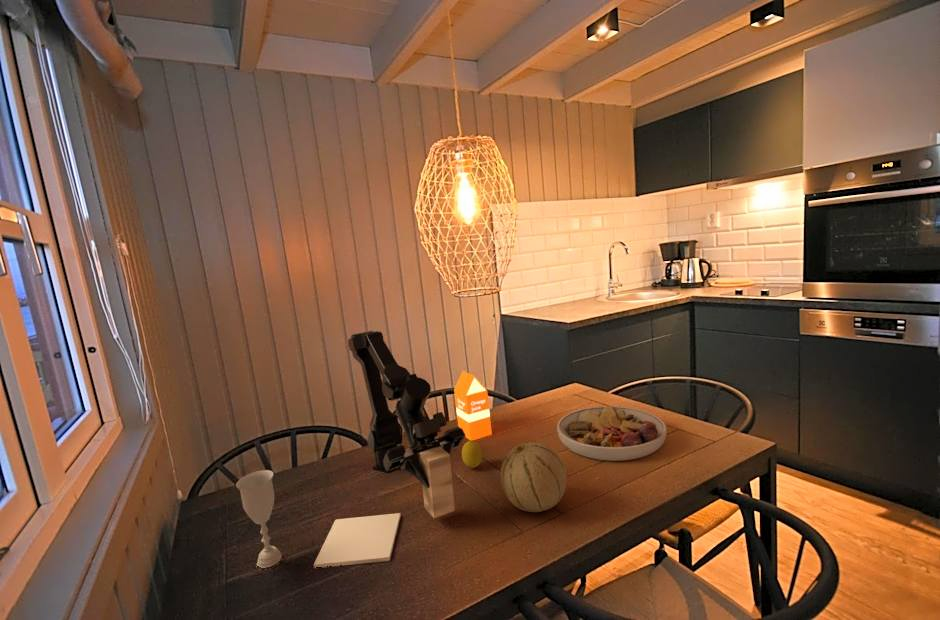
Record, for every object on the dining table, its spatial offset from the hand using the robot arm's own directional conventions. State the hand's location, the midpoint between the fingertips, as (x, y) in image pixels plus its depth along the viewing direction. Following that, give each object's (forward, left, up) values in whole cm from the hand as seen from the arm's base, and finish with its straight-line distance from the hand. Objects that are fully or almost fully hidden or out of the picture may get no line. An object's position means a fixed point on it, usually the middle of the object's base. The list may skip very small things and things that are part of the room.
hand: (439, 483), depth 99 cm
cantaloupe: (+16, +14, -10) cm, 23 cm away
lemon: (-7, +24, -10) cm, 27 cm away
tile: (-13, -12, -9) cm, 20 cm away
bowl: (+22, +53, -10) cm, 58 cm away
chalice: (-26, -25, -10) cm, 38 cm away
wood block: (-1, +1, -7) cm, 7 cm away
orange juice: (-19, +44, -10) cm, 49 cm away
